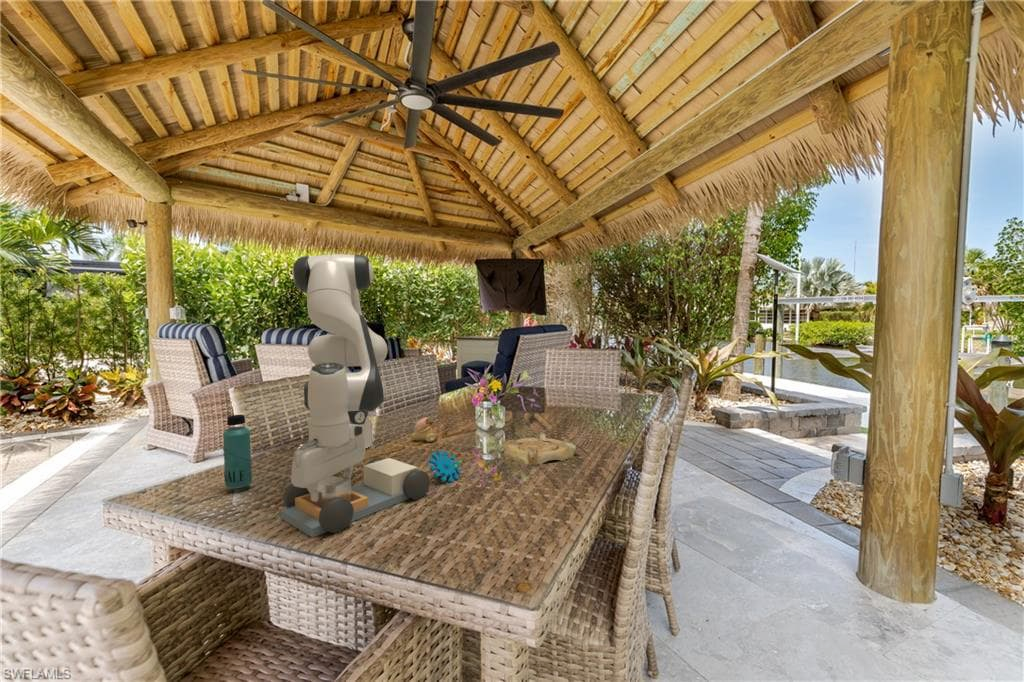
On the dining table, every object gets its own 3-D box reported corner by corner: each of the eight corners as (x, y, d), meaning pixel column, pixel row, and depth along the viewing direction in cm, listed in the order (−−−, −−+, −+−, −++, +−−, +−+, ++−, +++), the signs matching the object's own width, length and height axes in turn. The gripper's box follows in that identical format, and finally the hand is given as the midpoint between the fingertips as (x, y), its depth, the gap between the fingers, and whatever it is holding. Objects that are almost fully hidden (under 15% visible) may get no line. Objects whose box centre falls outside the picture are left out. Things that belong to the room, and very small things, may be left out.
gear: (438, 482, 124) (426, 450, 130) (428, 493, 127) (416, 461, 132) (470, 477, 132) (457, 447, 137) (459, 488, 135) (447, 458, 140)
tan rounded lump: (445, 442, 169) (434, 428, 162) (420, 456, 168) (408, 442, 161) (438, 424, 175) (427, 410, 169) (414, 437, 175) (403, 423, 168)
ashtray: (584, 464, 145) (585, 448, 144) (509, 468, 141) (509, 452, 140) (563, 442, 168) (563, 428, 168) (498, 445, 164) (498, 431, 164)
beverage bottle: (249, 482, 128) (246, 411, 127) (256, 489, 124) (253, 415, 122) (221, 489, 124) (218, 415, 122) (228, 496, 119) (225, 419, 118)
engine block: (312, 508, 108) (311, 482, 107) (327, 499, 112) (326, 475, 112) (336, 512, 105) (335, 486, 105) (351, 504, 110) (350, 479, 109)
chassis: (277, 516, 108) (276, 486, 107) (391, 477, 133) (391, 453, 132) (317, 540, 97) (316, 508, 96) (434, 492, 121) (433, 466, 121)
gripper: (305, 448, 97) (308, 513, 98) (368, 424, 116) (370, 479, 117) (282, 445, 99) (285, 508, 100) (348, 422, 118) (349, 475, 119)
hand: (331, 492), depth 108 cm, fingers open, 8 cm apart
